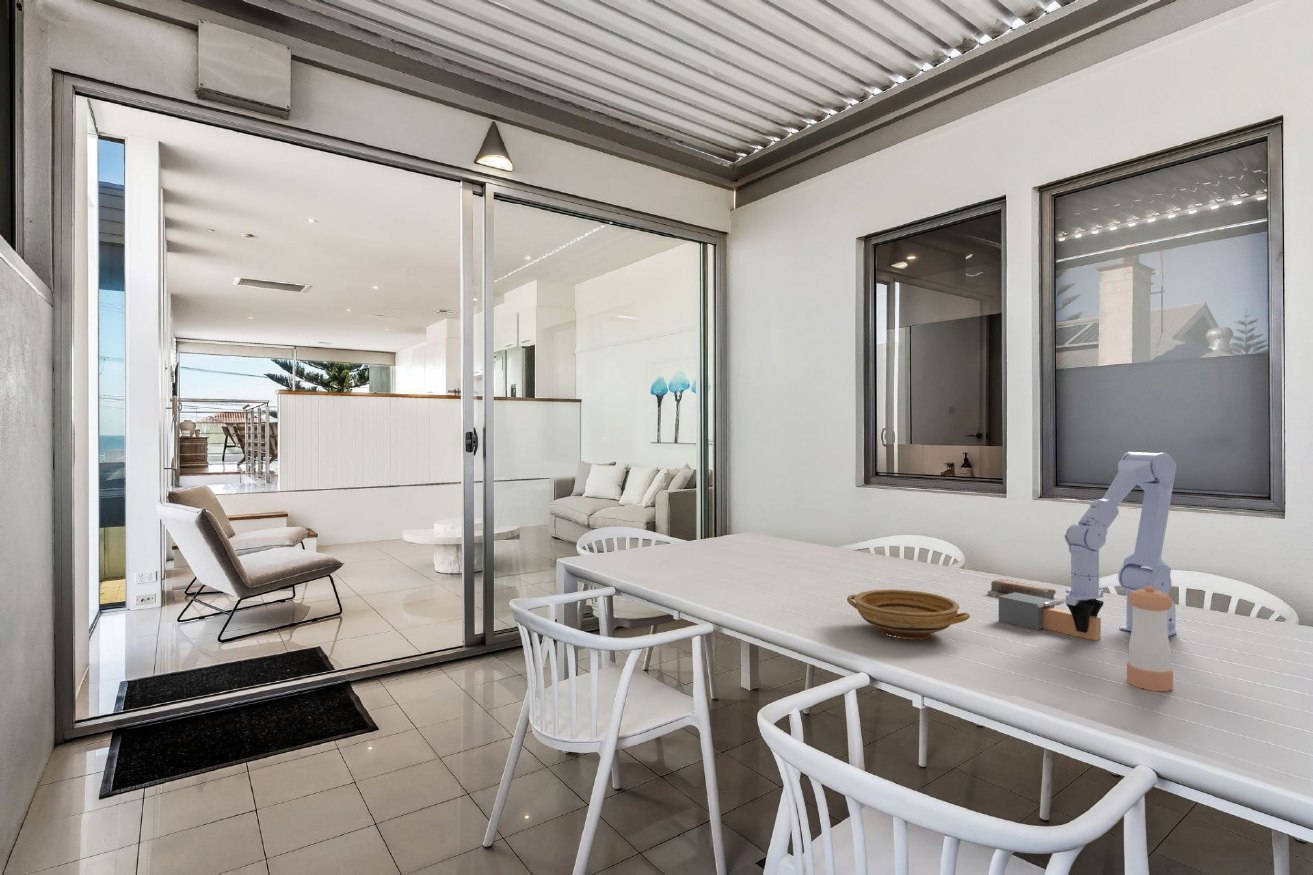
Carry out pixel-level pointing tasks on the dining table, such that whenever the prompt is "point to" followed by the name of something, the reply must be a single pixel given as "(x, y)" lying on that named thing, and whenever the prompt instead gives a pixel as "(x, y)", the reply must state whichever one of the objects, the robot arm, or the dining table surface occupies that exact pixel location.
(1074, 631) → the orange rectangular bar
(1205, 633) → the dining table surface
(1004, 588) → the packaged product
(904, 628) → the ceramic bowl
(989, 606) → the dining table surface
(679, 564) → the dining table surface
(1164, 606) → the salt shaker
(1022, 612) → the grey plain boxy block
